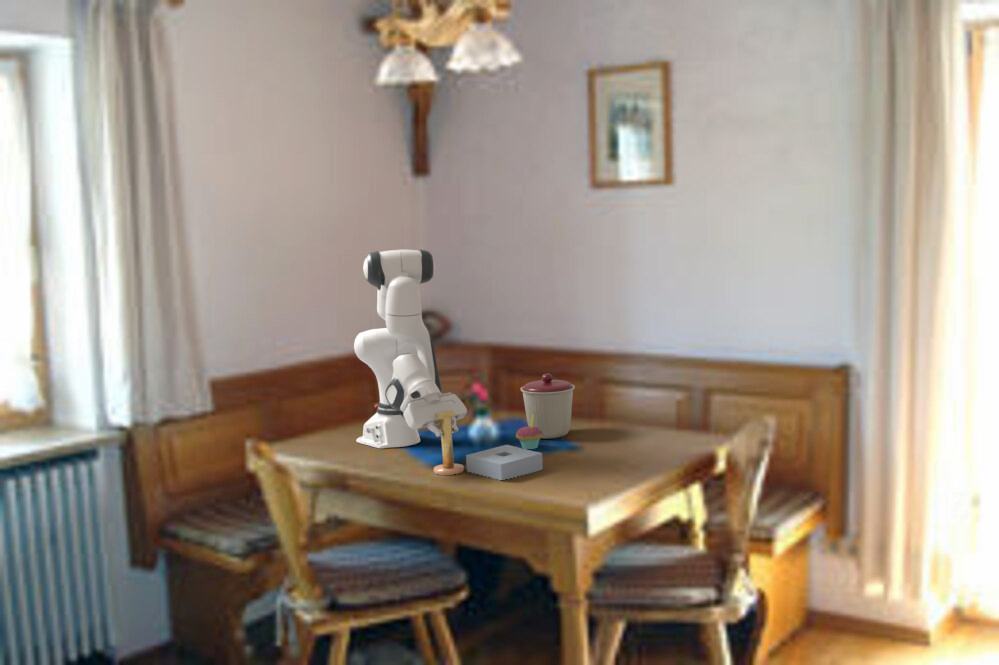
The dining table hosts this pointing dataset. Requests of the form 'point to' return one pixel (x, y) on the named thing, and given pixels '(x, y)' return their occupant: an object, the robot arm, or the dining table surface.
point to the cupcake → (529, 436)
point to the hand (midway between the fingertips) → (448, 433)
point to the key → (446, 437)
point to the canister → (549, 405)
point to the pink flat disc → (442, 471)
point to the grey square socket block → (504, 462)
